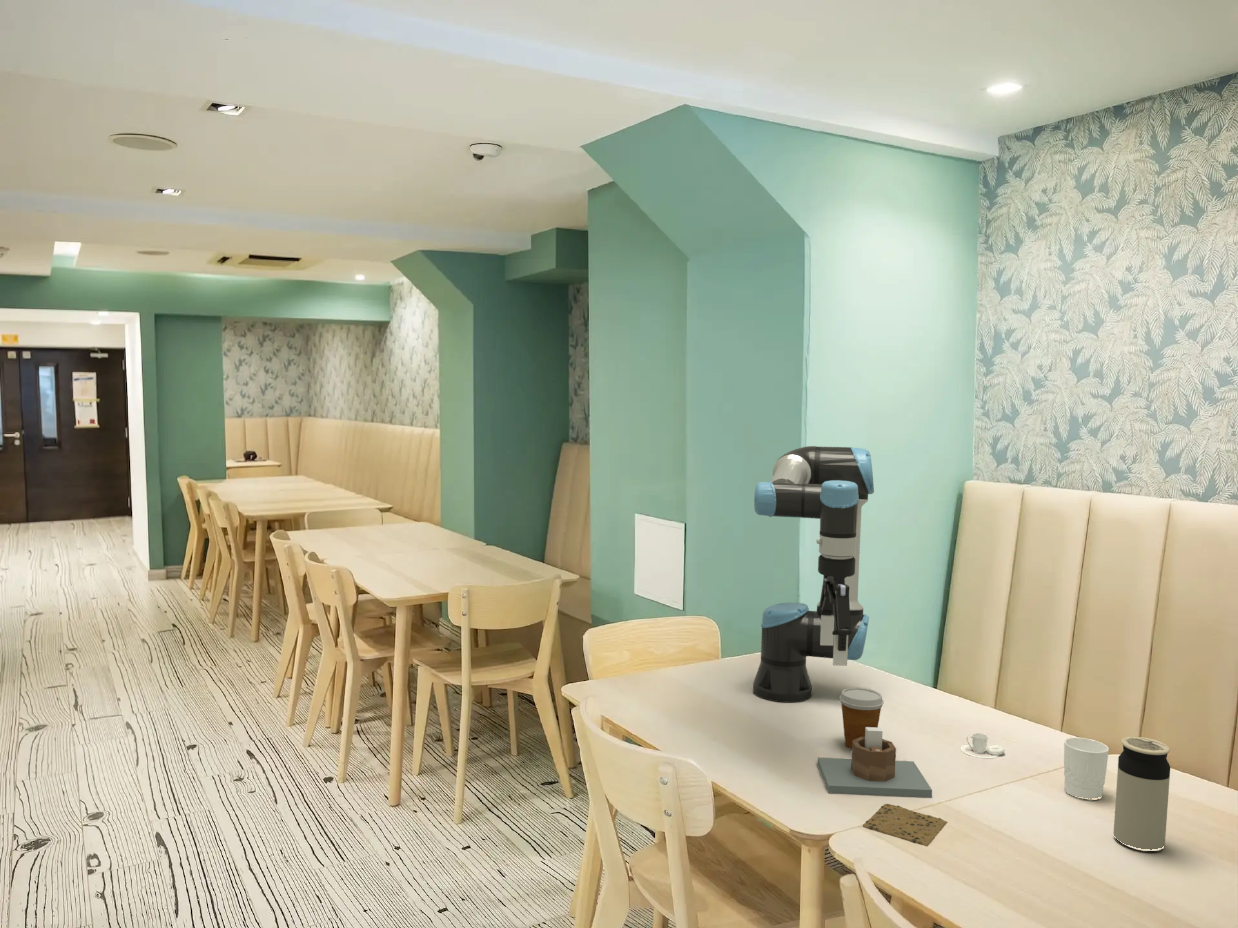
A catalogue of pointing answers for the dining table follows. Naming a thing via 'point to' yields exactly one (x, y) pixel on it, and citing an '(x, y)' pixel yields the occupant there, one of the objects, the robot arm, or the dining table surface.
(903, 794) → the shaft board
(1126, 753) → the travel mug
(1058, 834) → the dining table surface
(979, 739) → the teacup and saucer
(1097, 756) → the white cup
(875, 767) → the brown octagonal ring
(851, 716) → the disposable coffee cup
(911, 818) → the speckled square slab
